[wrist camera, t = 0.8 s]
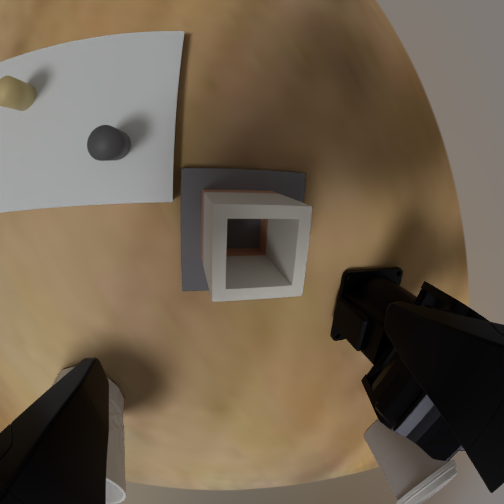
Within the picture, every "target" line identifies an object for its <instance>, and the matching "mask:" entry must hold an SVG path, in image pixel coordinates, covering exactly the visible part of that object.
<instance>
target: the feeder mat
mask: <svg viewBox="0 0 504 504" xmlns="http://www.w3.org/2000/svg"><path fill="white" fill-rule="evenodd" d="M305 180H306V173H299V172H285V171H270V170H252V169H225V168H182V170H181V264H182V290H183V291H202V290H209V287H208V283H207V279H206V275H205V271H204V267H203V263H202V258H201V237H202V189H204V190H259V191H273V192H276V193H279V194H281V195H284V196H287V197H289V198H292V199H295V200H297V201H300V202H302V203H304V192H305ZM260 226H261V219H227V247H226V249H236V248H259V242H260Z"/></svg>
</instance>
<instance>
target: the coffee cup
mask: <svg viewBox="0 0 504 504" xmlns="http://www.w3.org/2000/svg"><path fill="white" fill-rule="evenodd" d="M364 438H365V440H366V442H367V444H368V446H369V447H370V449H371V451H372V453H373V455H374V457H375V458H376V460H377V462H378V464H379V466H380V468H381V470H382V471H383V473H384V475H385V477H386V479H387V481H388V483H389V485H390V486H391V488H392V490H393V492H394V494H395V496H396V498H397V500H398V501H397V503H396V504H421V503H422V502H424V501H425V500H427V499H428V498H429V497H431V496H432V495H434V494H435V493H436V492H437V491H439V490H440V489H441V488H442V487H443V486H445V485H446V484H447V483H448V482H449V481H450V480H451V479H453V478H454V476H455V475H456V474H457V471H456V468H455V467H456V463H455V460H454V459H453V460H449V461H441V460H435V459H432V458H431V457H430V456H429V455H428V454H427V453H426V452H424V451H423V450H422V449H421V448H420V447H419V446H418V445H416V444H415V443H414V442H412V441H411V440H409V439H408V438H406V437H405V436H403V435H400V434H397V433H395V432H393V431H392V430H390V429H389V428H387V427H386V426H385V425H384V424H382V423H381V422H380V421H379V419H378V420H377V421H376V422H374V423H373V424H372V425H371V426H370V427H369V428H368V430H367V431H366V433H365V435H364Z"/></svg>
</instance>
